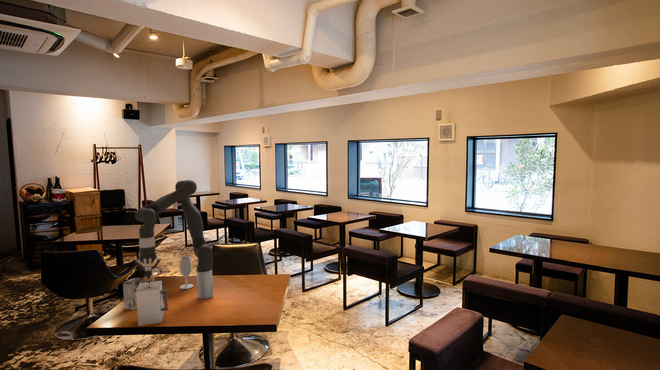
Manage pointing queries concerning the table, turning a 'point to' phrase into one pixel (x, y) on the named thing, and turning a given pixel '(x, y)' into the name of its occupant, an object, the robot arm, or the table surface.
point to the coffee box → (131, 292)
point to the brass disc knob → (149, 280)
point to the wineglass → (185, 270)
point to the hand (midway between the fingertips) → (149, 277)
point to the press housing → (150, 303)
